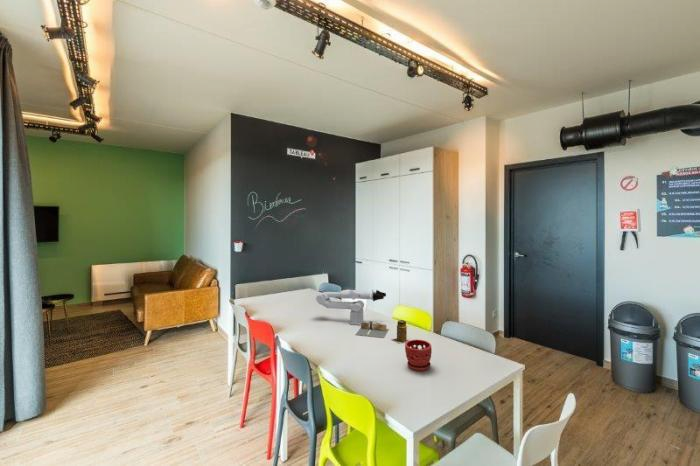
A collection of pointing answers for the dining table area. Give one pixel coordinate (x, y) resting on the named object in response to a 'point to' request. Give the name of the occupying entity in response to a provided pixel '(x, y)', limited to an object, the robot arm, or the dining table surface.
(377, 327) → the fence panel
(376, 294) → the robot arm
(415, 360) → the plant pot
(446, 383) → the dining table surface
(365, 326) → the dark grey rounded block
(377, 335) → the card
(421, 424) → the dining table surface
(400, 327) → the condiment
